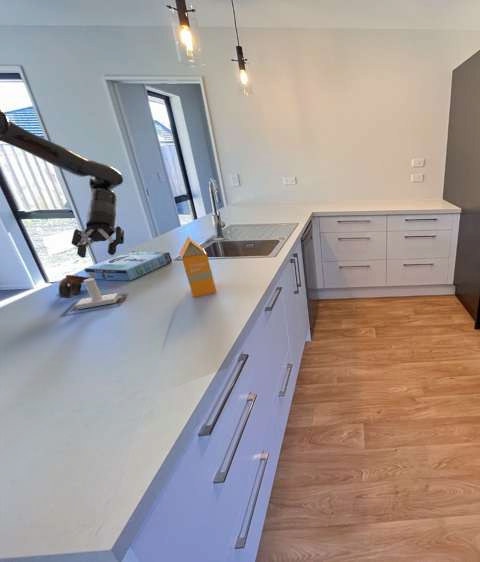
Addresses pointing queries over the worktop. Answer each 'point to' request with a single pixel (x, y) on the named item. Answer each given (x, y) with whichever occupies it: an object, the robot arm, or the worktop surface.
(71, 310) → the picture frame
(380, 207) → the worktop surface
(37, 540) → the worktop surface
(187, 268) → the orange juice
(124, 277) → the gum box
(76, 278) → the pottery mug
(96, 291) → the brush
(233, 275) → the worktop surface
